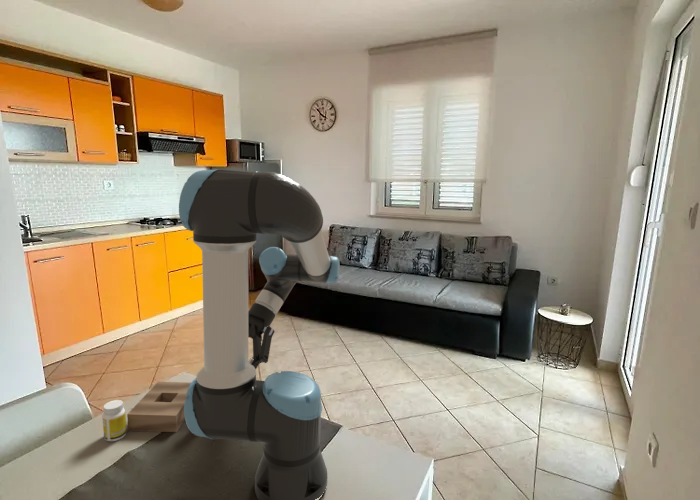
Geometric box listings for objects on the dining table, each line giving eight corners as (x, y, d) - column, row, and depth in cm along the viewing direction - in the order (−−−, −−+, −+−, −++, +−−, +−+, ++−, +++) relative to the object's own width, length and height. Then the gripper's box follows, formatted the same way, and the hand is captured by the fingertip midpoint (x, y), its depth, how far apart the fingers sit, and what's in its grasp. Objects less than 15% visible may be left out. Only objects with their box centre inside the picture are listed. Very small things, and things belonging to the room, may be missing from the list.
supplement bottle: (131, 430, 96) (129, 399, 95) (118, 443, 92) (115, 410, 90) (113, 428, 97) (110, 398, 95) (99, 441, 92) (96, 409, 91)
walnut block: (176, 431, 96) (175, 415, 96) (128, 430, 96) (127, 414, 95) (200, 397, 112) (199, 382, 111) (158, 395, 112) (158, 381, 111)
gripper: (302, 324, 110) (263, 395, 100) (244, 306, 123) (204, 367, 114) (289, 311, 104) (247, 385, 95) (230, 294, 118) (187, 356, 109)
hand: (223, 375), depth 104 cm, fingers open, 13 cm apart
